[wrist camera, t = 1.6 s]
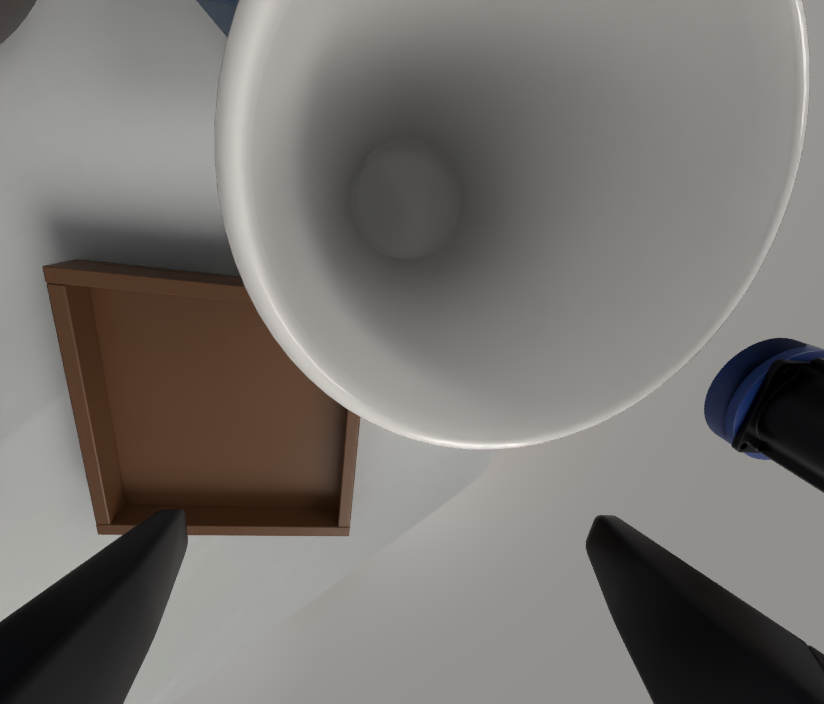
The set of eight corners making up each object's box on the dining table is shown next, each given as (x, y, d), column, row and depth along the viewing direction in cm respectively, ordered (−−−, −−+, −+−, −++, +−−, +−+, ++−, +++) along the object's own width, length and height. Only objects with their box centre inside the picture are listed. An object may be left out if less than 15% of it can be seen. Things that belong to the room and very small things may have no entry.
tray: (350, 511, 24) (348, 536, 23) (119, 507, 22) (97, 534, 21) (370, 290, 19) (371, 299, 18) (76, 259, 17) (41, 265, 15)
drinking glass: (473, 268, 20) (739, 428, 6) (340, 280, 19) (277, 491, 5) (472, 115, 17) (941, -262, 3) (318, 124, 16) (77, -285, 3)
